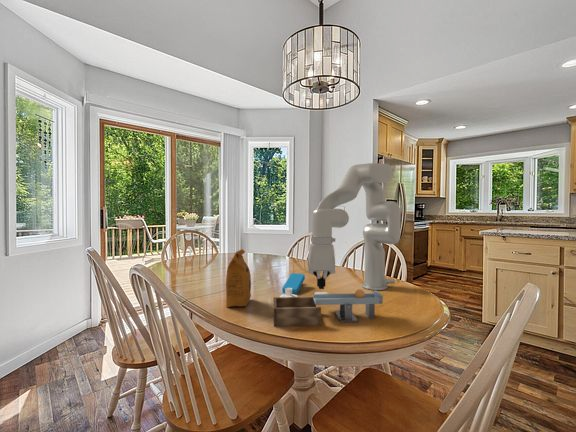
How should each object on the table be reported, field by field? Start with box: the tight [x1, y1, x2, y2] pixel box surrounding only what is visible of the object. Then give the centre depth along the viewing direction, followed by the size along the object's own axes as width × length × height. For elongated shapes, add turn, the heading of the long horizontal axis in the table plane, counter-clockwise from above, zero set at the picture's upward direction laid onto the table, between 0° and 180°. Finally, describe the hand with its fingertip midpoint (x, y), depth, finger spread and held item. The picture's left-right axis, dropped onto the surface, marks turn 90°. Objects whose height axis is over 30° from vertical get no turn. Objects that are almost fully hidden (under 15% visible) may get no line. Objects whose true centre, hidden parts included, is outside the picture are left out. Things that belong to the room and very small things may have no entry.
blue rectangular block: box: [281, 272, 306, 295], centre depth 141 cm, size 7×7×18 cm
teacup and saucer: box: [279, 288, 299, 297], centre depth 128 cm, size 9×8×4 cm
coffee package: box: [225, 248, 252, 308], centre depth 119 cm, size 10×12×22 cm
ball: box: [354, 288, 366, 298], centre depth 105 cm, size 4×4×4 cm
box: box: [272, 296, 322, 327], centre depth 103 cm, size 16×12×6 cm
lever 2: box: [312, 290, 384, 306], centre depth 108 cm, size 24×12×3 cm, turn 93°
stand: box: [334, 304, 376, 323], centre depth 105 cm, size 13×10×6 cm
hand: (321, 288), depth 112 cm, fingers closed
